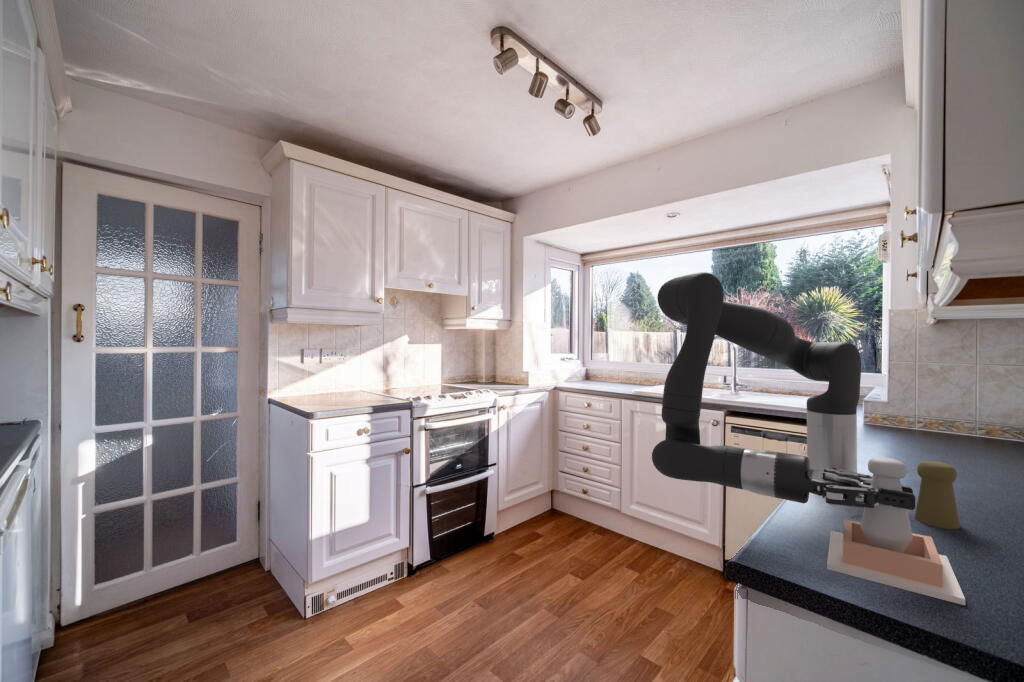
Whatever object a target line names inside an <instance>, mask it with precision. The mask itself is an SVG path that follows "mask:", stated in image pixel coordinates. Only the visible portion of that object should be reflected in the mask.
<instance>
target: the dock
mask: <svg viewBox="0 0 1024 682" xmlns="http://www.w3.org/2000/svg"><path fill="white" fill-rule="evenodd" d="M860 524H861V521H860V522H859V521H854V520H849V519H843V530H842V531H843V532H837V531H833V530H830V537H829V546H828V552H827V553H828V554H827V560H826V569H827V570H829V571H833V572H836V573H841V574H845V575H848V576H852V577H856V578H860V579H863V580H867V581H870V582H873V583H874V582H875V583H878V584H883V585H886V586H890V587H894V588H897V589H901V590H905V591H909V592H912V593H917V594H920V595H924V596H928V597H930V598H935V599H939V600H943V601H947V602H951V603H954V604H958V605H962V606H966V598H965V595H964V593H963V591H962V588H961V586H960V584H959V582H958V579H957V577H956V575H955V573H954V572H955V571H954V570H953V568H952V565H951V563H950V561H949V558H948V556H947V555H944V554H939V553H938V551H937V550H938V549H937V547H936V545H935V543H934V539H933V537H932V536H929V535H925V534H924V535H923V534H920V533H919V534H918V533H914V532H912V535H913V538H912V540H911V542H910V543H909V544H908V546H907V548H906V549H905V551H904V552H903V553H900V552H895V551H891V550H887V549H882V548H878V547H873V546H872V545H870V544H869V543H868V542H867V540H866V538H865V535H864V533H863V531H862V529H861V525H860Z"/></svg>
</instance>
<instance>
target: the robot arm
mask: <svg viewBox="0 0 1024 682" xmlns="http://www.w3.org/2000/svg"><path fill="white" fill-rule="evenodd" d="M724 296H725V293H724V287H723V284H722V282H721V280H720V279H719V278H718V276H717V275H715V274H713V273H712V272H707V271H702V272H695V273H691V274H686V275H681V276H677V277H674V278H672V279H669V280H667V281H666V282H665V283H663V284H662V286H661V287H660V288H659V290H658V293H657V304H658V306H659V308H660V310H661V312H662V313H663V315H664V316H665V317H667V318H668V319H670V320H672V321H675V322H677V323H681V324H684V325H686V330H685V331H686V333H685V336H684V340H683V342H682V345H681V348H680V350H679V351H678V354H677V356H676V357H675V359H674V361H673V363H672V365H671V367H670V368H669V370H668V372H667V375H666V377H665V382H664V386H663V394H662V404H661V406H662V407H661V420H662V421H663V422H664V423H665V439H664V440H661V441H660V442H658V443H657V444H656V445H655V446H654V448H653V449H652V452H651V460H652V461H651V462H652V465H653V466H654V467H655V469H656V471H658V472H659V473H660V474H662V475H663V476H665V477H667V478H671V479H676V480H681V481H690V482H701V483H710V484H711V483H713V484H716V485H720V486H723V487H729V488H733V489H738V490H743V491H744V490H745V491H748V492H751V493H754V494H757V495H760V496H766V497H771V498H775V499H781V500H785V501H790V502H796V503H800V504H807V503H808V501H809V498H810V493H811V494H812V495H816V496H818V497H819V496H820V497H822V498H823V499H825V503H826V504H828V505H832V506H833V505H835V506H848V507H855V508H856V507H858V508H865V507H866V508H874V505H875V506H877V505H880V503H881V504H882V505H888V506H890V505H891V506H893V507H898V508H904V509H907V510H911V511H914V510H916V501H917V500H916V496H915V494H914V491H913V489H912V487H910V486H907V485H902V484H901V487H902V491H903V492H902V491H896V490H887V489H883V488H881V491H880V488H878V487H876V486H870V484H871V480H872V476H873V475H869V474H863V473H860V472H859V473H858V427H857V426H858V423H857V422H858V420H857V417H858V416H857V411H858V409H857V408H858V406H859V405H858V404H859V402H860V397H861V395H860V393H861V379H862V358H861V353H860V351H859V349H858V347H857V346H856V344H854V343H852V342H847V341H810V340H806V339H803V338H801V337H799V336H796V334H795V331H794V328H793V325H792V324H791V323H790V322H789V321H788V320H786V318H783V317H782V316H780V315H779V314H776V313H774V312H772V311H770V310H767V309H765V308H762V307H759V306H754V305H750V304H745V303H739V302H733V301H731V302H730V301H726V300H725V301H724V298H725V297H724ZM716 336H717V337H720V338H722V339H724V340H725V341H728V342H730V343H733V344H735V345H737V346H739V347H741V348H743V349H745V350H746V351H750V352H752V353H754V354H757V355H758V356H761V357H764V358H767V359H769V360H771V361H774V362H777V363H780V364H782V365H783V366H786V367H787V368H789V369H791V370H792V371H794V372H795V373H797V374H799V375H801V376H802V377H804V378H806V379H808V380H811V381H815V382H826V383H828V387H827V390H826V391H825V392H823V393H821V394H819V395H815V396H810V397H808V398H807V400H806V455H798V454H793V453H786V452H779V451H771V450H766V449H750V448H749V449H748V448H743V447H742V448H741V447H734V446H727V445H703V444H701V433H700V431H701V429H700V416H701V411H702V410H701V408H702V401H703V400H702V399H703V389H704V383H705V381H704V380H705V374H706V371H707V366H708V362H709V358H710V354H711V351H712V347H713V344H714V340H715V337H716Z"/></svg>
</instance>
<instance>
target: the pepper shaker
mask: <svg viewBox="0 0 1024 682" xmlns="http://www.w3.org/2000/svg"><path fill="white" fill-rule="evenodd" d="M916 469H917V470H916V471H917V474H918V476H919V477H920V479H921V480H920V484H919V489H918V490H919V491H918V496H917V500H916V501H917V503H916V506H915V513H914V520H915V521H917V522H918V523H919V522H920V523H921V524H924V525H927V526H930V527H935V528H940V529H945V530H946V529H947V530H959V529H961V524H960V518H959V514H958V512H959V511H958V507H957V506H958V505H957V501H956V498H955V497H956V495H955V490H954V485H953V483H954V482H956V481H957V480H956V479H957V477H958V476H957V474H958V473H957V471H956V469H955V467H954V466H952V465H950V464H948V463H945V462H941V461H934V460H924V461H923V460H922V461H920V462H919V463H918V465H917V468H916Z"/></svg>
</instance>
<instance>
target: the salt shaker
mask: <svg viewBox="0 0 1024 682" xmlns="http://www.w3.org/2000/svg"><path fill="white" fill-rule="evenodd" d="M867 469H868V472H869V473H870V474H872V475H871V476H872V480H871V484H870V486H876V487H878V488H880V491H881V488H883V489H887V490H896V491H902V487H901V485H902V483H901V479H904V478H906V476H907V473H908V472H907V466H906V465H905V463H904V462H903V461H901V460H898V459H895V458H890V457H886V456H885V457H882V456H880V457H879V456H877V457H872V458H870V459H869V460H868V462H867ZM902 492H903V491H902ZM863 508H864V509H863V513H862V516H861V521H860V523H861V524H860V525H861V529H862V531H863V533H864V535H865V538H866V540H867V542H868V543H869V544H870V545H872V546H873V547H878V548H882V549H887V550H891V551H895V552H900V553H903V552H904V551H905V549H906V548H907V546H908V544H909V543H910V542H911V540H912V538H913V535H912V533H913V530H912V527H911V521H910V518H909V513H908V509H904V508H898V507H893V506H891V505H890V506H888V505H882V504H881V503H880V505H877V506H875V505H874V508H866V507H863Z"/></svg>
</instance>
